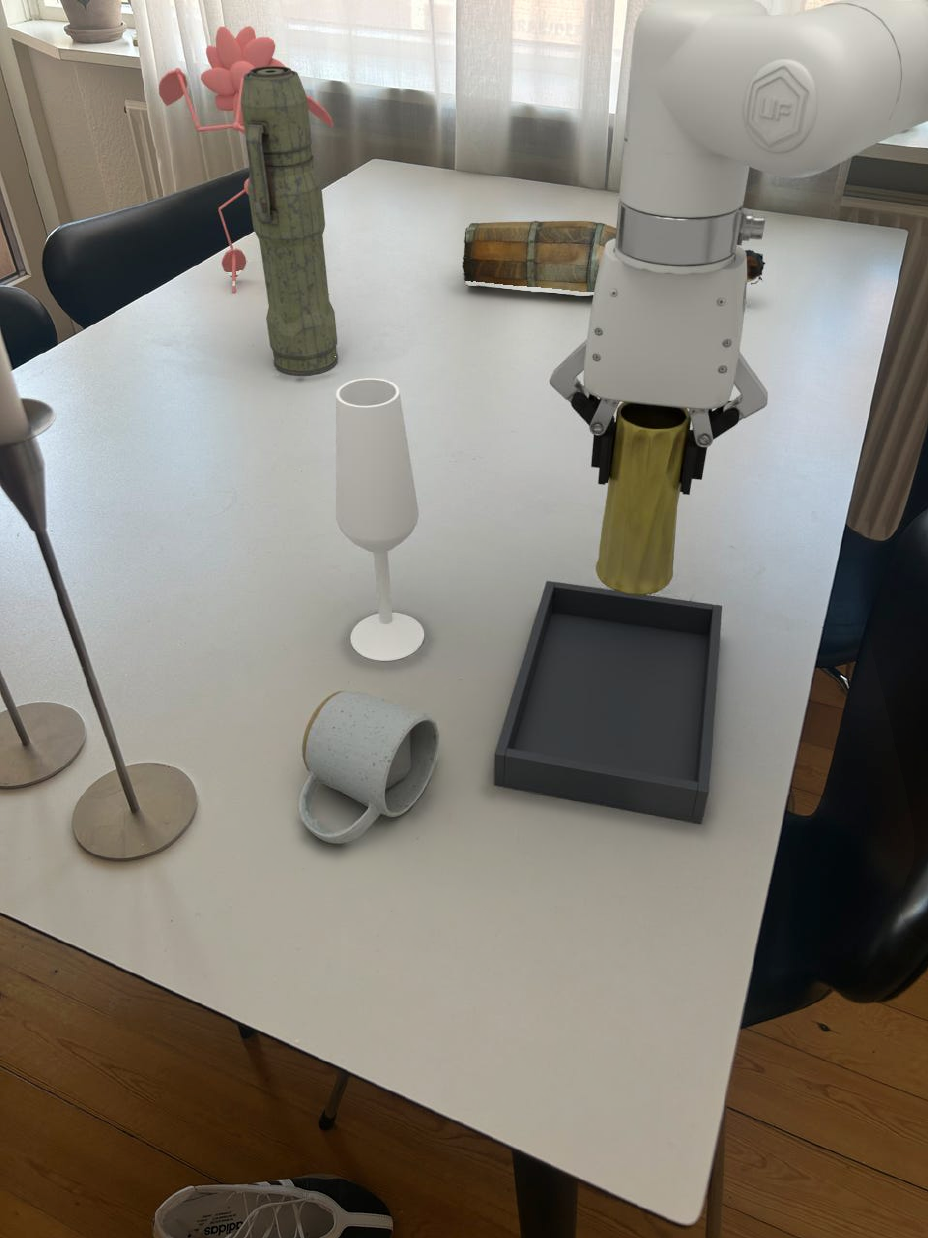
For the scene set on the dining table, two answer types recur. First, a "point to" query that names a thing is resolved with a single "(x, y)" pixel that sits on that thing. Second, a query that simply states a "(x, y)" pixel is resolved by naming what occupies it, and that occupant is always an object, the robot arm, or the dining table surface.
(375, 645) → the champagne flute
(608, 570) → the vase
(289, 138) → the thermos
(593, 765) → the tray
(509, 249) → the decorative bottle
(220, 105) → the figurine
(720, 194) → the robot arm
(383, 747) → the ceramic mug
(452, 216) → the dining table surface
